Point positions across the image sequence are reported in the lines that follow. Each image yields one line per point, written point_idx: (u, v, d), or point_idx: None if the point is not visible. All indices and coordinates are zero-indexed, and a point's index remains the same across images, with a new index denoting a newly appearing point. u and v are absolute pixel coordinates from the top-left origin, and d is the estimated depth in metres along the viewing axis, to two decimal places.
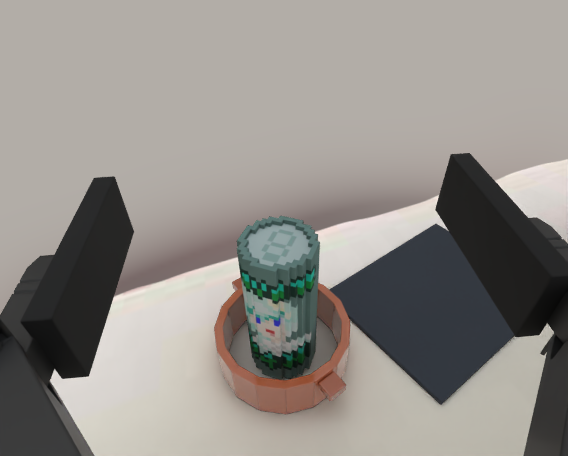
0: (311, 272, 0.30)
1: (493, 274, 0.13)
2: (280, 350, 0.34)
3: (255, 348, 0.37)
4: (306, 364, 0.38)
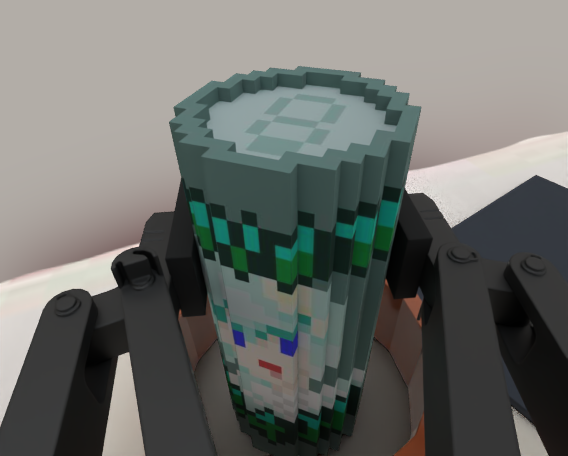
0: (399, 195, 0.10)
1: None
2: (294, 409, 0.14)
3: (236, 397, 0.16)
4: (347, 428, 0.18)
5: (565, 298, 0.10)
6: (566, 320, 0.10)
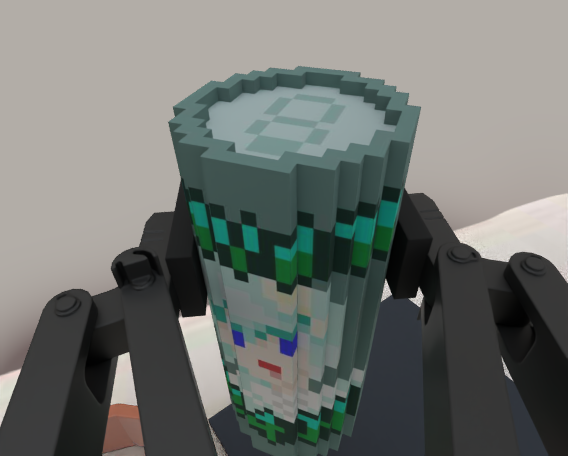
0: (398, 195, 0.10)
1: None
2: (294, 409, 0.14)
3: (236, 397, 0.16)
4: (346, 428, 0.18)
5: (565, 298, 0.10)
6: (566, 320, 0.10)
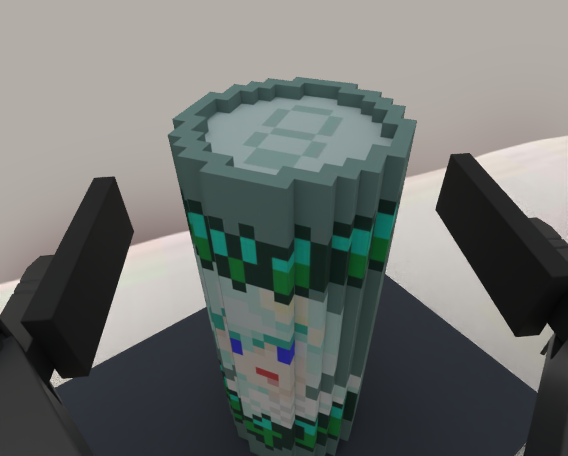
0: (394, 208, 0.10)
1: (493, 274, 0.13)
2: (291, 415, 0.14)
3: (234, 403, 0.16)
4: (343, 433, 0.18)
5: None
6: None
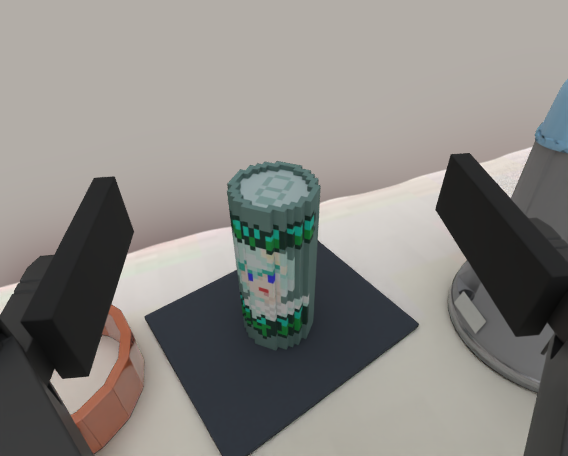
0: (310, 218, 0.27)
1: (494, 274, 0.13)
2: (274, 313, 0.31)
3: (247, 313, 0.33)
4: (303, 333, 0.35)
5: None
6: None
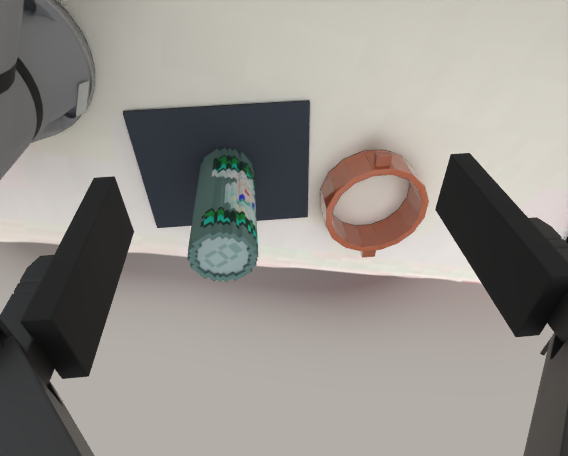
0: (209, 222, 0.35)
1: (494, 274, 0.13)
2: (241, 175, 0.42)
3: (253, 185, 0.45)
4: (218, 152, 0.45)
5: None
6: None
